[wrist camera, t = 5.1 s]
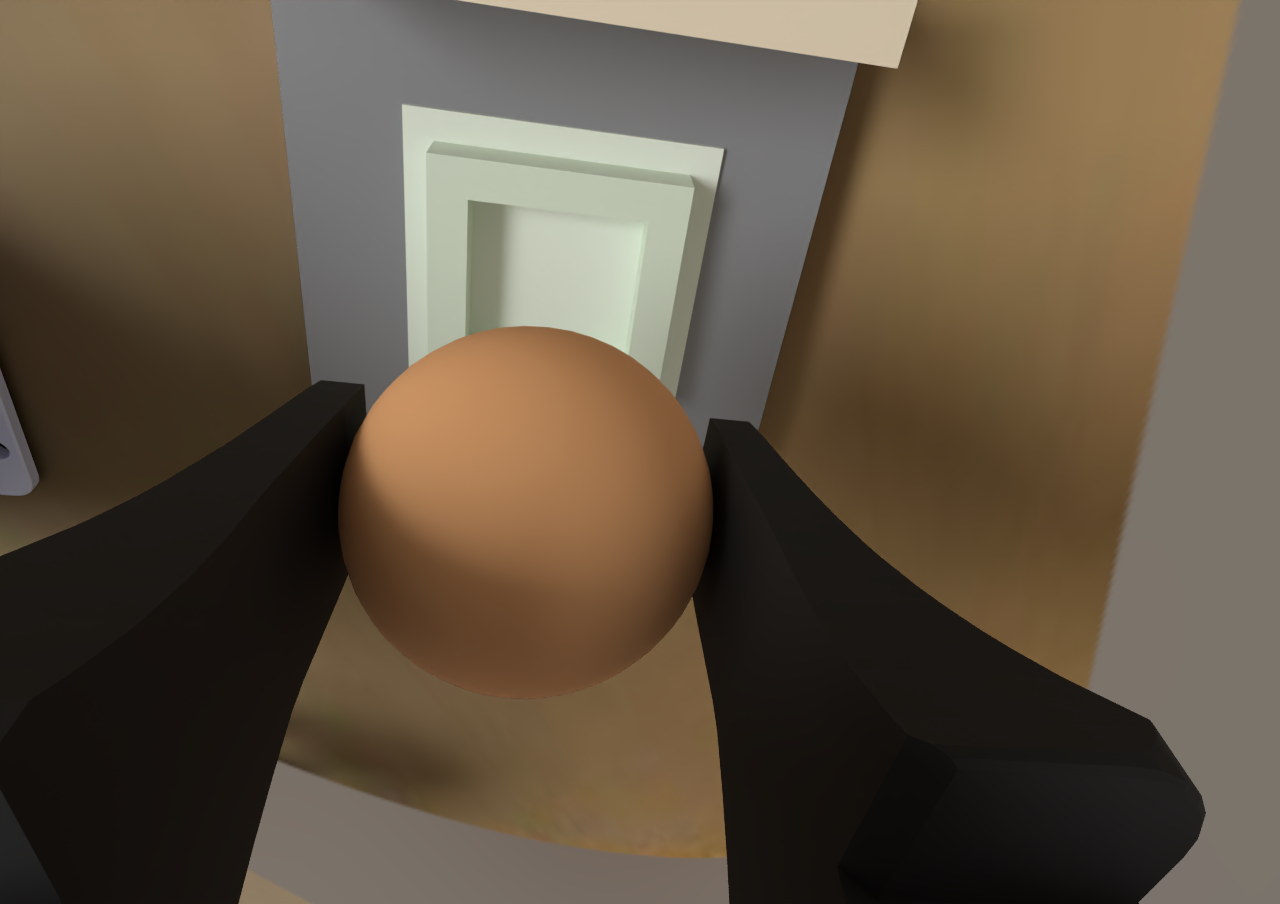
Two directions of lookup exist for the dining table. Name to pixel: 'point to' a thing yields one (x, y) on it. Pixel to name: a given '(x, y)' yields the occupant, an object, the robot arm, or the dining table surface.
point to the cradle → (553, 232)
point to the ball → (525, 512)
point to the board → (584, 98)
